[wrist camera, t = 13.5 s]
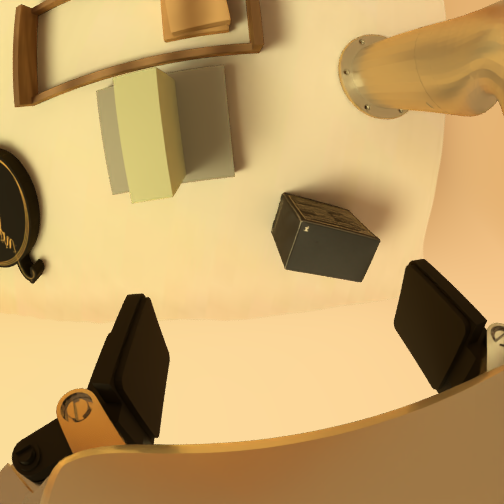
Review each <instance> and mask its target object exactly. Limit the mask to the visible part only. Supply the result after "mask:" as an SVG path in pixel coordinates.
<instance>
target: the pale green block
mask: <svg viewBox="0 0 504 504" xmlns="http://www.w3.org/2000/svg"><path fill="white" fill-rule="evenodd" d="M113 84H114V94H115V104H116V112H117V120H118V127H119V134H120V141H121V147H122V154H123V160H124V165H125V171H126V176H127V181H128V187H129V192H130V196H131V201H132V204H133V203H139V202H145V201H151V200H157V199H164V198H170V197H173V196H174V194H175V193H176V191H177V189H178V188H179V186H180V184H181V183H182V181H183V180H184V178H185V176H186V169H185V162H184V154H183V147H182V139H181V131H180V123H179V115H178V106H177V97H176V87H175V80H174V79H173V78H171V77H170V76H168V75H167V74H165V73H164V72H162V71H161V70H159V69H158V68H156V67H155V68H150V69H146V70H141V71H137V72H133V73H129V74H125V75H122V76H118V77H114V78H113Z"/></svg>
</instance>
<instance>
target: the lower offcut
mask: <svg viewBox="0 0 504 504" xmlns="http://www.w3.org/2000/svg"><path fill="white" fill-rule="evenodd" d="M161 12H162V24H163V36H164V41H165V42H171V41H176V40H181V39H186V38H192V37H198V36H204V35H211V34H219V33H227V32H229V25H223V26H218V27H213V28H208V29H203V30H199V31H195V32H190V33H186V34H183V35H179V36H175V37H174V36H173V35H172V33H171V30H170V25H169V20H168V15H167V9H166V4H165V0H161Z"/></svg>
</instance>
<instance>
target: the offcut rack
mask: <svg viewBox="0 0 504 504" xmlns="http://www.w3.org/2000/svg"><path fill="white" fill-rule="evenodd" d="M67 1H70V0H46V1H45V2H43V3H41V4H39V5H37V6H35V7H33V8H30V7H27V6H25V5H22V4H21V5H19V6H18V7H16V14H15V24H14V39H13V89H14V104H15V107H24V106H35V105H37V104H39V103H41V102H44V101H46V100H49V99H51V98H53V97H56V96H58V95H61V94H63V93H66V92H69V91H71V90H74V89H77V88H80V87H83V86H85V85H88V84H91V83H95V82H98V81H101V80H104V79H107V78H111V77H114V76H118V75H122V74H125V73H129V72H133V71H137V70H141V69H146V68H150V67H155V66H159V65H164V64H170V63H175V62H181V61H187V60H193V59H200V58H208V57H216V56H226V55H237V54H251V53H259V52H260V50H261V49H262V47H263V45H264V40H263V30H262V21H261V12H260V3H259V0H246V9H247V18H248V28H249V38H250V43H244V44H231V45H220V46H211V47H203V48H196V49H189V50H183V51H177V52H172V53H167V54H162V55H157V56H152V57H148V58H143V59H139V60H135V61H131V62H127V63H124V64H120V65H117V66H113V67H110V68H106V69H103V70H100V71H97V72H94V73H91V74H88V75H85V76H82V77H79V78H77V79H74V80H71V81H69V82H66V83H64V84H61V85H59V86H56V87H54V88H51V89H49V90H47V91H44V92H42V93H40V94H38V80H37V25H38V16H39V15H41V14H43V13H45V12H46V11H48V10H50V9H52V8H55V7H57V6H59V5H61V4H63V3H65V2H67Z"/></svg>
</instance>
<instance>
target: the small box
mask: <svg viewBox="0 0 504 504" xmlns="http://www.w3.org/2000/svg"><path fill="white" fill-rule="evenodd" d="M271 233H272V235H273V237H274V240H275V243H276V245H277V248H278V251H279V254H280V256H281V259H282V262H283V264H284V268H285V269H286V270H292V271H297V272H303V273H309V274H315V275H321V276H327V277H333V278H338V279H344V280H350V281H355V282H362V280H363V278H364V276H365V274H366V272H367V270H368V268H369V265H370V263H371V261H372V259H373V257H374V254H375V252H376V250H377V247H378V245H379V243H380V239H379V238H378V237H376V236H375V235H374V234H373V233H372V232H370V231H369V230H368V229H367V228H366V227H365V226H364V225H363V224H362V223H361V222H360V221H359V220H358V219H357V218H356V217H355V216H354V215H353V214H352V213H351V212H350V211H349V210H346V209H343V208H340V207H336V206H332V205H329V204H325V203H322V202H318V201H314V200H311V199H307V198H303V197H299V196H295V195H291V194H286V193H283V194H282V196H281V201H280V203H279V207H278V211H277V214H276V217H275V220H274V223H273V227H272V231H271Z"/></svg>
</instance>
